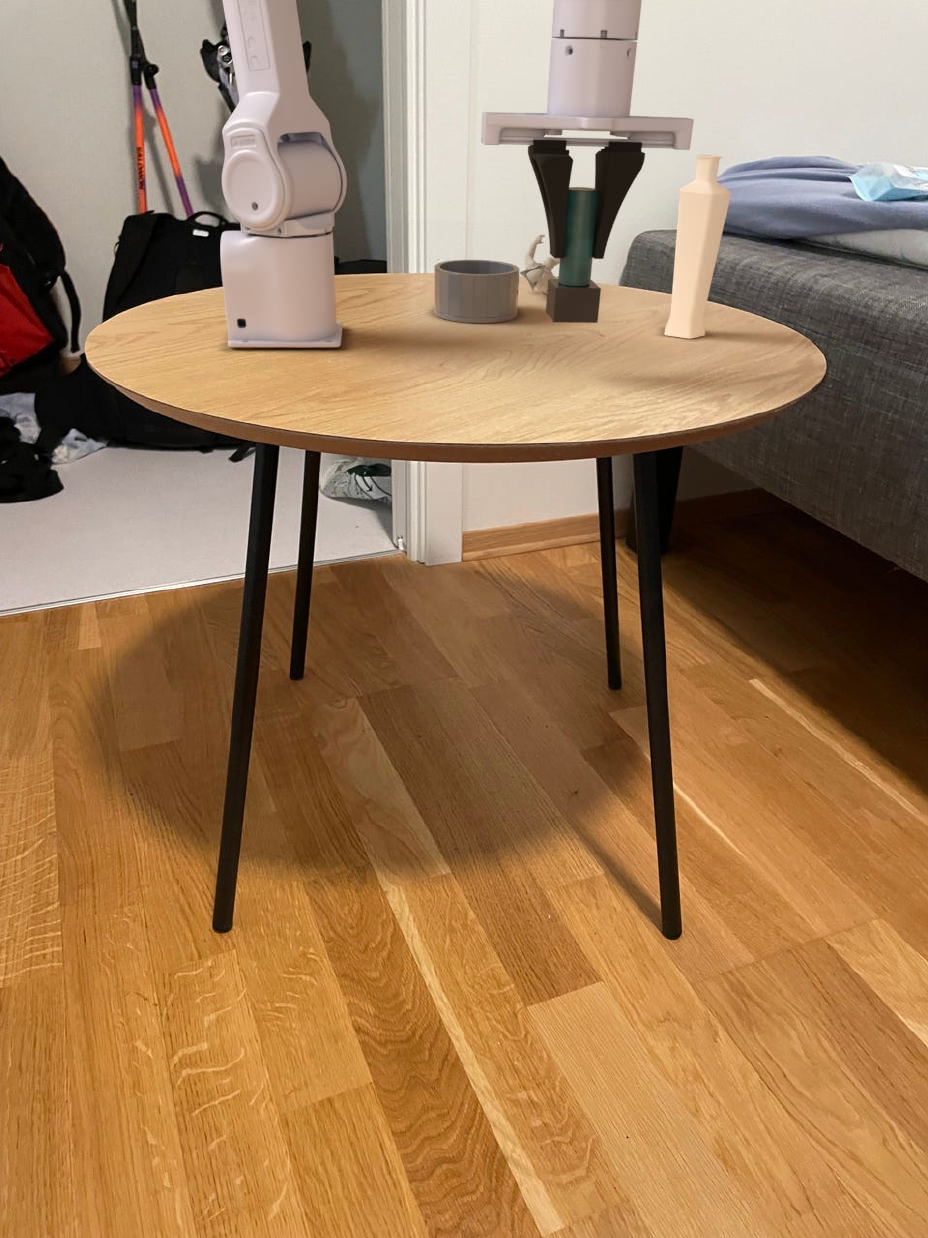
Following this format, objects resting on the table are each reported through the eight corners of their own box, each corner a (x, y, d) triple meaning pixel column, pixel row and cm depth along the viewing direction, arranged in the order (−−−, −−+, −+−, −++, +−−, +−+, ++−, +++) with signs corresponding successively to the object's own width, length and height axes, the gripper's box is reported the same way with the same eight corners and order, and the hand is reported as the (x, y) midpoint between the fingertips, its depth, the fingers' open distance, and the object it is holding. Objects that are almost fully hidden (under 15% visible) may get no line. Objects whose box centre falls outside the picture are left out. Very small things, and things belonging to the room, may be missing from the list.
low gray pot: (437, 322, 89) (437, 274, 87) (431, 304, 96) (432, 259, 94) (522, 323, 90) (524, 275, 87) (510, 304, 97) (512, 259, 94)
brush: (553, 322, 70) (563, 190, 65) (545, 312, 73) (554, 185, 68) (597, 322, 70) (610, 191, 65) (588, 312, 73) (600, 186, 68)
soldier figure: (593, 296, 106) (586, 280, 95) (559, 324, 107) (548, 312, 96) (551, 241, 106) (539, 218, 94) (517, 270, 107) (502, 251, 95)
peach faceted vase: (709, 341, 85) (738, 158, 78) (660, 337, 86) (684, 156, 78) (708, 329, 89) (735, 154, 82) (661, 326, 90) (684, 152, 82)
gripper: (493, 34, 58) (484, 264, 65) (719, 42, 59) (687, 267, 66) (481, 37, 64) (474, 247, 71) (686, 44, 65) (660, 250, 72)
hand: (576, 256), depth 69 cm, fingers closed on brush, 2 cm apart
